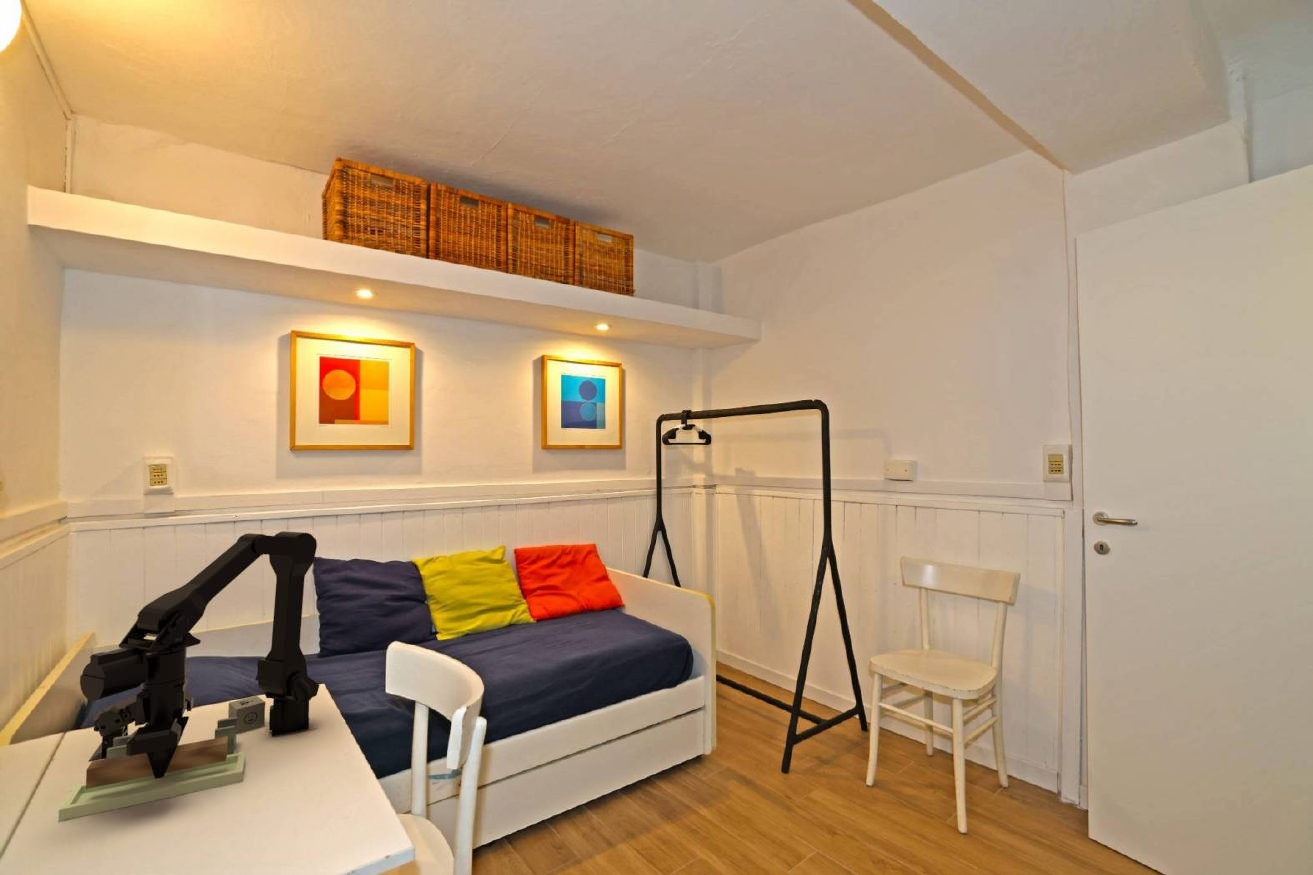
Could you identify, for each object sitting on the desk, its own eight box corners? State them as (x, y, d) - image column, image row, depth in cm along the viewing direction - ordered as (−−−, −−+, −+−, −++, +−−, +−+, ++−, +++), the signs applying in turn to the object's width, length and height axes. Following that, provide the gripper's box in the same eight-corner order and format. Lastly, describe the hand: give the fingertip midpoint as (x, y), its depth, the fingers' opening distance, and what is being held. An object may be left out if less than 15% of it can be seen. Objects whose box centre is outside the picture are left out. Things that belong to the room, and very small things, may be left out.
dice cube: (227, 727, 124) (228, 702, 125) (256, 719, 128) (256, 695, 128) (235, 734, 121) (236, 709, 121) (264, 726, 125) (265, 701, 125)
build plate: (130, 760, 112) (131, 735, 112) (76, 770, 108) (78, 744, 108) (146, 733, 123) (147, 710, 123) (98, 741, 119) (99, 717, 119)
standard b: (135, 762, 110) (136, 733, 110) (128, 775, 106) (129, 745, 106) (113, 766, 108) (114, 737, 109) (105, 779, 104) (106, 749, 104)
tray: (245, 760, 111) (245, 751, 111) (242, 781, 104) (242, 771, 104) (74, 795, 99) (75, 784, 99) (58, 821, 92) (58, 809, 92)
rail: (227, 753, 108) (227, 736, 108) (225, 760, 105) (226, 743, 105) (91, 780, 98) (91, 761, 98) (85, 789, 96) (86, 769, 96)
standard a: (236, 742, 118) (236, 716, 118) (233, 754, 113) (234, 726, 113) (217, 746, 116) (217, 719, 116) (213, 758, 112) (214, 730, 112)
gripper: (115, 669, 106) (111, 760, 106) (83, 708, 90) (79, 816, 90) (195, 658, 112) (192, 745, 111) (178, 693, 96) (175, 795, 95)
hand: (161, 772), depth 102 cm, fingers closed on rail, 3 cm apart
